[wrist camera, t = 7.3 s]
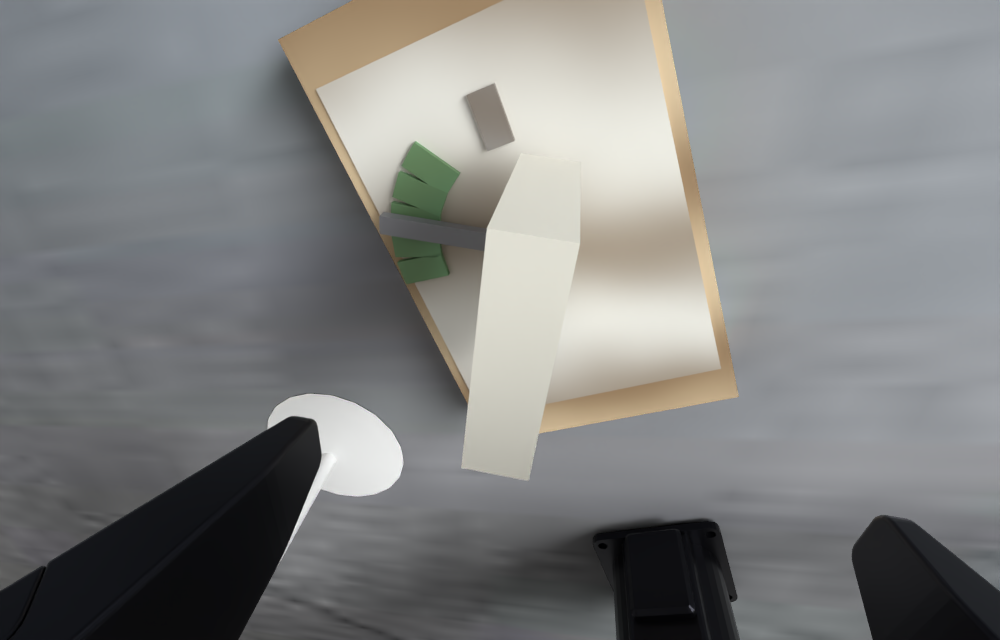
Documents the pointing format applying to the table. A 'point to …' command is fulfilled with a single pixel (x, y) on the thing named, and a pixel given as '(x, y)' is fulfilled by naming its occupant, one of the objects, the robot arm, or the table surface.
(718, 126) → the table surface
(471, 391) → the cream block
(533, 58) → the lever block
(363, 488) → the wineglass
